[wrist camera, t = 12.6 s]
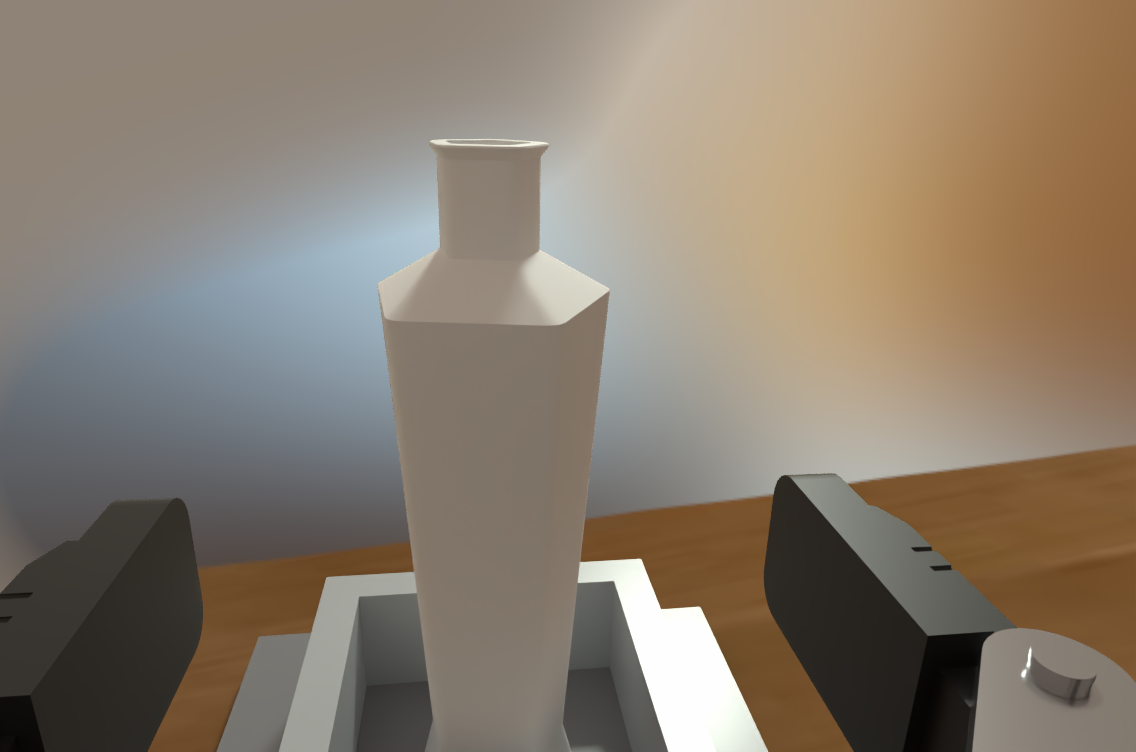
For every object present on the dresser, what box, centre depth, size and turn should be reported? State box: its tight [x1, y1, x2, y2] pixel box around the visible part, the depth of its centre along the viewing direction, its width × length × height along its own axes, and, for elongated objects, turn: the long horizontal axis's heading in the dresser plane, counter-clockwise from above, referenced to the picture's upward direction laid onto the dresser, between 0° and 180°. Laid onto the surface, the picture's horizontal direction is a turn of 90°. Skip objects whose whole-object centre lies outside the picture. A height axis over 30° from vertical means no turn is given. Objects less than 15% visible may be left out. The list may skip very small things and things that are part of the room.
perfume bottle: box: [378, 139, 610, 752], centre depth 16 cm, size 5×4×15 cm
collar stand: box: [217, 559, 768, 752], centre depth 19 cm, size 14×12×4 cm
